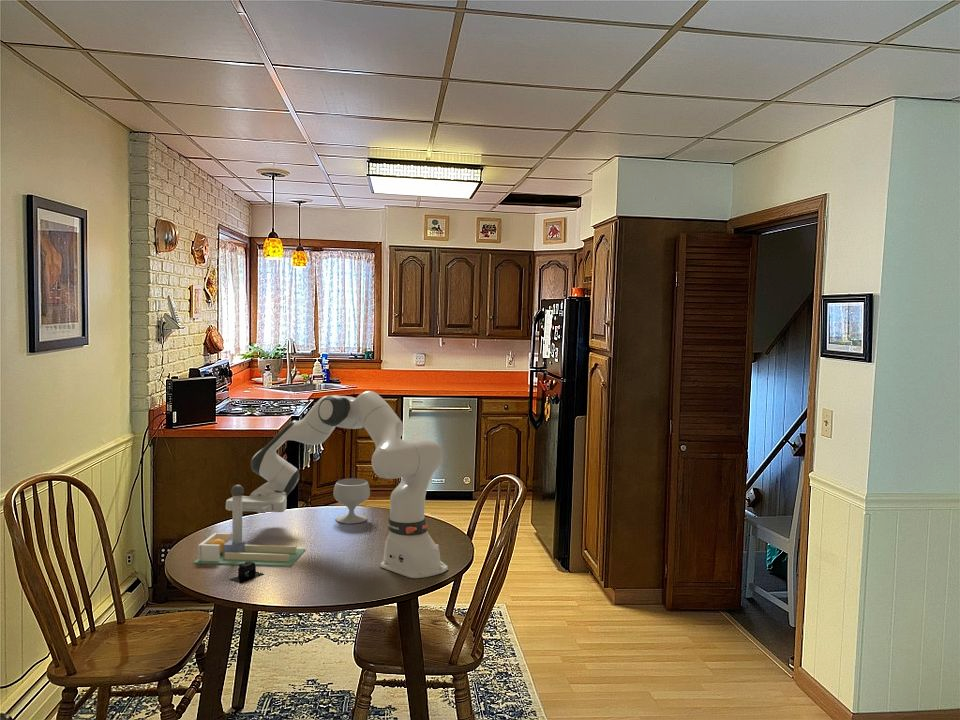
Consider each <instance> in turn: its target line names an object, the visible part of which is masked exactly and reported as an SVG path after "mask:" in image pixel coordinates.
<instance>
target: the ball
mask: <svg viewBox="0 0 960 720" xmlns="http://www.w3.org/2000/svg"><path fill="white" fill-rule="evenodd" d="M211 544H214V545H220V554H221V553H223V552H224V544H225V541H224V540H222V539H215V540H213V541H212V542H211Z"/></svg>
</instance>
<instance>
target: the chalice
mask: <svg viewBox="0 0 960 720" xmlns="http://www.w3.org/2000/svg"><path fill="white" fill-rule="evenodd" d="M332 492H333V493H332V494H333V497H334V499H335V500H336V502H338V503H340V504H341V505H344V506H346V508H347V509H348V514H344V515H339V516H337V517H336V518H335V521H336V522H338V523H341V524H352V525H353V524H360V523H364V522H366V521H367V520H368V517H367V516H365V515H362V514H356V513H355V509H356V507H357V506H360V505H361V504H362V503H364V502H366V501H367V500H368V499H369V498H370V495H371V489H370V485H369V482H368V481H367V480H366V479H363V478H356V477H355V478H341V479H339V480H337V481H336V483H335V484H334V488H333V491H332Z"/></svg>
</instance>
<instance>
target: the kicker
mask: <svg viewBox="0 0 960 720" xmlns="http://www.w3.org/2000/svg"><path fill="white" fill-rule="evenodd" d="M244 492H245V488H244V487H243V486H242V485H241V484H235V485H233V486H232V487H231V489H230V493H231V495H232V497H233V511H232V532H231V533H232V540H229V541H228V542H226V543H225V544H224V553H225V552H239V553H243V552H244V551H245V545H246V543H245V539H244V540H243V511H242V496H244V494H245V493H244Z"/></svg>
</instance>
